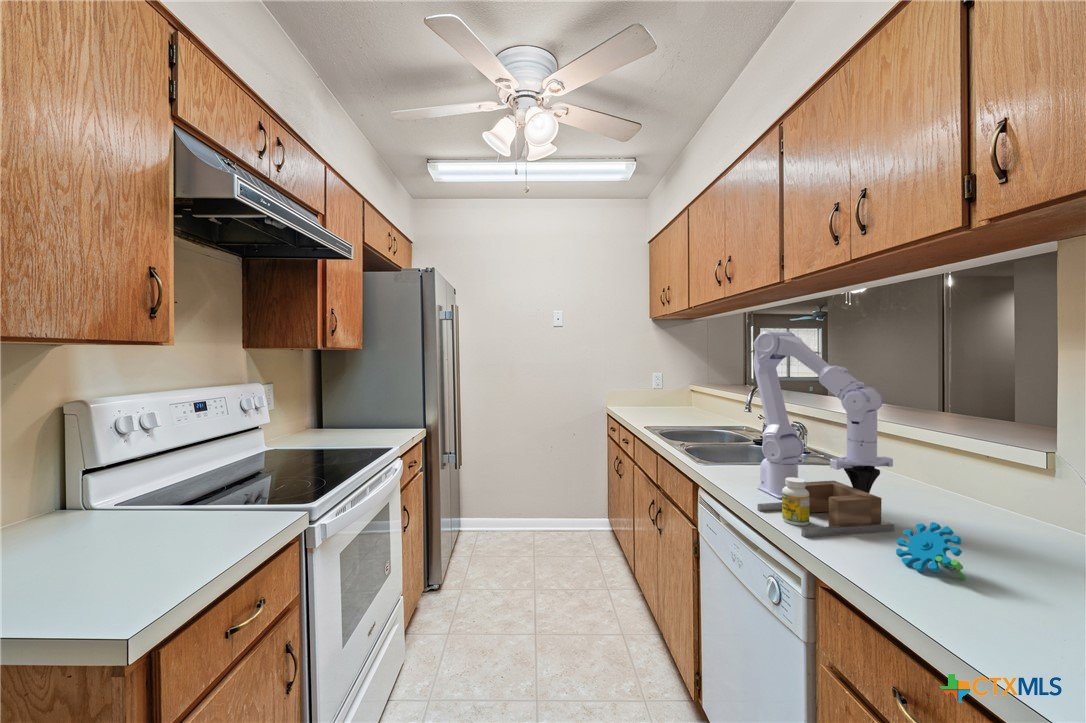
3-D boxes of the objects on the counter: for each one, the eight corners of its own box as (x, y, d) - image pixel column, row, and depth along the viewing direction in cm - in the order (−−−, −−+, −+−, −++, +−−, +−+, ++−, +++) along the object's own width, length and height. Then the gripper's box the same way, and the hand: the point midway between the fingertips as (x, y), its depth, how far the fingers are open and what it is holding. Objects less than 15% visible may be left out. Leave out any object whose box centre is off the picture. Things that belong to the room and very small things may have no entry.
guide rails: (757, 509, 107) (757, 503, 107) (835, 505, 110) (835, 499, 110) (804, 537, 91) (804, 530, 91) (894, 530, 94) (894, 523, 94)
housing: (795, 509, 107) (795, 482, 107) (834, 506, 108) (834, 480, 108) (837, 530, 94) (837, 500, 94) (881, 527, 95) (881, 497, 95)
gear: (881, 544, 84) (925, 510, 82) (902, 564, 85) (946, 531, 83) (926, 582, 73) (977, 544, 72) (949, 605, 74) (1001, 568, 72)
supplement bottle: (815, 524, 98) (815, 481, 98) (796, 527, 96) (796, 484, 96) (794, 515, 103) (794, 475, 103) (776, 518, 102) (776, 477, 101)
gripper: (847, 444, 97) (847, 506, 97) (905, 442, 99) (905, 502, 99) (823, 438, 104) (822, 495, 104) (877, 436, 106) (877, 492, 106)
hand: (861, 498), depth 102 cm, fingers closed
